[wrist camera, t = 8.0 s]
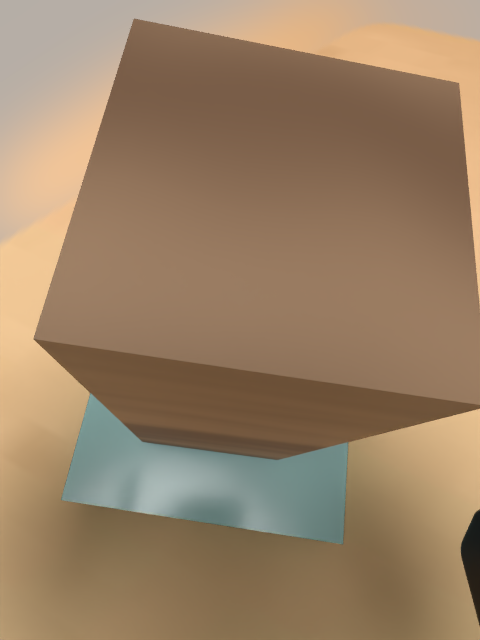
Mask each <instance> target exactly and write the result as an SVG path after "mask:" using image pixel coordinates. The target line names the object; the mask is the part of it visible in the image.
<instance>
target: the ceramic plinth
mask: <svg viewBox="0 0 480 640" xmlns="http://www.w3.org/2000/svg"><path fill="white" fill-rule="evenodd" d="M347 456H348V442H347V443H343V444H339V445H335V446H331V447H327V448H323V449H319V450H315V451H311V452H307V453H303V454H299V455H296V456H292V457H288V458H284V459H280V460H273V459H265V458H258V457H251V456H243V455H236V454H228V453H221V452H213V451H206V450H199V449H191V448H184V447H176V446H169V445H161V444H154V443H147V442H142V441H141V440H140V439H139V438H138V437H137V436H136V435H135V434H133V433H132V432H131V431H130V430H129V429H128V428H127V427H126V426H125V425H124V424H123V423H122V422H121V421H120V420H119V419H118V418H117V417H115V416H114V415H113V414H112V413H111V412H110V411H109V410H108V409H107V408H106V407H105V406H104V405H103V404H102V403H101V402H100V401H99V400H97V399H96V398H95V397H94V396H93V395H92V394H91V393H90V397H89V400H88V404H87V407H86V411H85V415H84V418H83V422H82V426H81V429H80V433H79V436H78V440H77V444H76V447H75V451H74V455H73V458H72V462H71V465H70V469H69V473H68V476H67V480H66V484H65V487H64V491H63V494H62V498H61V500H63V501H70V502H76V503H82V504H89V505H95V506H101V507H108V508H114V509H121V510H127V511H133V512H140V513H146V514H153V515H159V516H165V517H172V518H178V519H184V520H191V521H197V522H204V523H210V524H216V525H223V526H229V527H236V528H242V529H248V530H255V531H261V532H267V533H274V534H280V535H287V536H293V537H299V538H306V539H312V540H319V541H325V542H331V543H338V544H343V536H344V516H345V496H346V476H347Z"/></svg>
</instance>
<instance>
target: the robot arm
mask: <svg viewBox="0 0 480 640" xmlns="http://www.w3.org/2000/svg"><path fill="white" fill-rule="evenodd" d="M461 556H462V561H463V565H464V568H465V572H466V576H467V580H468V584H469V587H470V591H471V595H472V599H473V602H474V606H475V610H476V614H477V618H478V621H479V625H480V509H479V510H478V511H477V512H476V513H475V514H474V516H473V518H472V521H471V523H470V525H469V527H468V530H467V532H466V534H465V536H464V538H463V541H462V544H461Z"/></svg>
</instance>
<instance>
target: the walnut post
mask: <svg viewBox="0 0 480 640" xmlns="http://www.w3.org/2000/svg"><path fill="white" fill-rule="evenodd" d="M34 340H35V341H36V342H37V343H38V344H39V345H40V346H41V347H42V348H43V349H45V350H46V351H47V352H48V353H49V354H50V355H51V356H52V357H53V358H54V359H55V360H56V361H57V362H58V363H59V364H60V365H61V366H63V367H64V368H65V369H66V370H67V371H68V372H69V373H70V374H71V375H72V376H73V377H74V378H75V379H76V380H77V381H78V382H79V383H81V384H82V385H83V386H84V387H85V388H86V389H87V390H88V391H89V392H90V393H91V394H92V395H93V396H94V397H95V398H96V399H97V400H99V401H100V402H101V403H102V404H103V405H104V406H105V407H106V408H107V409H108V410H109V411H110V412H111V413H112V414H113V415H114V416H115V417H117V418H118V419H119V420H120V421H121V422H122V423H123V424H124V425H125V426H126V427H127V428H128V429H129V430H130V431H131V432H132V433H133V434H135V435H136V436H137V437H138V438H139V439H140V440H141V441H142V442H147V443H154V444H161V445H169V446H176V447H184V448H191V449H199V450H206V451H213V452H221V453H228V454H236V455H243V456H251V457H258V458H265V459H273V460H280V459H284V458H288V457H292V456H296V455H299V454H303V453H307V452H311V451H315V450H319V449H323V448H327V447H331V446H335V445H339V444H343V443H347V442H350V441H354V440H358V439H362V438H366V437H370V436H374V435H378V434H382V433H386V432H390V431H394V430H398V429H401V428H405V427H409V426H413V425H417V424H421V423H425V422H429V421H433V420H437V419H441V418H445V417H449V416H453V415H456V414H460V413H464V412H468V411H472V410H476V409H480V307H479V296H478V285H477V274H476V263H475V252H474V241H473V230H472V220H471V209H470V198H469V187H468V176H467V165H466V154H465V144H464V133H463V122H462V111H461V100H460V89H459V83H456V82H451V81H446V80H441V79H436V78H431V77H426V76H421V75H416V74H411V73H406V72H401V71H395V70H390V69H385V68H380V67H375V66H370V65H365V64H360V63H355V62H350V61H345V60H340V59H335V58H330V57H325V56H320V55H315V54H310V53H305V52H299V51H295V50H290V49H285V48H279V47H274V46H269V45H264V44H259V43H254V42H249V41H244V40H239V39H234V38H229V37H224V36H219V35H214V34H209V33H204V32H199V31H194V30H188V29H184V28H179V27H173V26H169V25H163V24H158V23H153V22H148V21H143V20H138V19H134V20H133V24H132V26H131V30H130V33H129V36H128V39H127V42H126V45H125V49H124V52H123V55H122V58H121V61H120V65H119V68H118V71H117V74H116V77H115V80H114V84H113V87H112V90H111V94H110V97H109V100H108V103H107V106H106V110H105V112H104V116H103V119H102V122H101V125H100V128H99V131H98V135H97V138H96V141H95V145H94V147H93V151H92V154H91V157H90V160H89V163H88V167H87V170H86V173H85V176H84V180H83V182H82V186H81V189H80V192H79V195H78V198H77V202H76V205H75V208H74V211H73V214H72V218H71V221H70V224H69V227H68V230H67V233H66V237H65V240H64V243H63V246H62V249H61V253H60V256H59V259H58V262H57V265H56V269H55V272H54V275H53V278H52V281H51V284H50V288H49V291H48V294H47V297H46V300H45V304H44V307H43V310H42V313H41V316H40V320H39V323H38V326H37V329H36V332H35V335H34Z"/></svg>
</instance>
